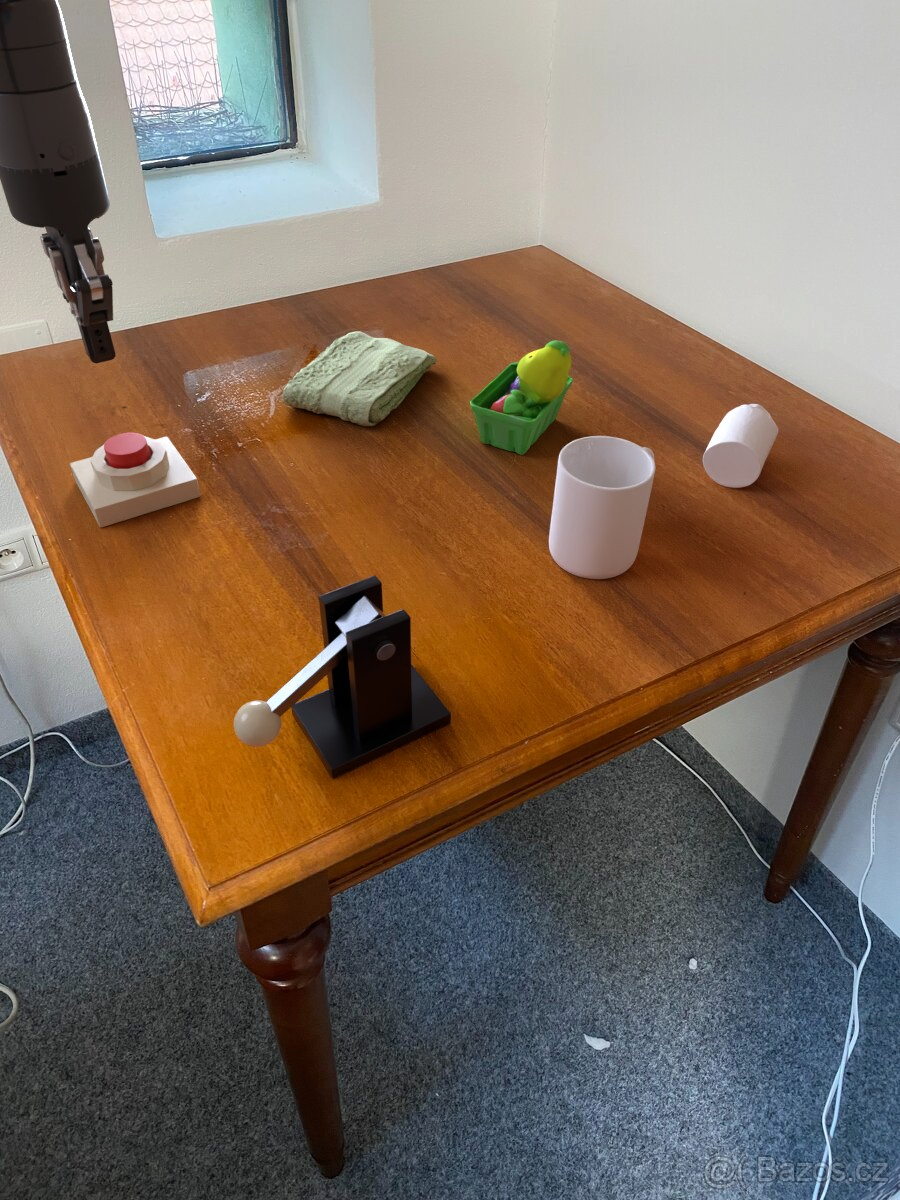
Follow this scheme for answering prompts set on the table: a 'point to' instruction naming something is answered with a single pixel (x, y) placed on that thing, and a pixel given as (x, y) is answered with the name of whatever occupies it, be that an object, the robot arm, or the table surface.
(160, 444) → the button box
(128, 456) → the button
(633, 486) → the cup
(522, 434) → the fruit basket
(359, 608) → the lever
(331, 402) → the washcloth
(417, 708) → the bracket
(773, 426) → the white bottle
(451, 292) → the table surface
